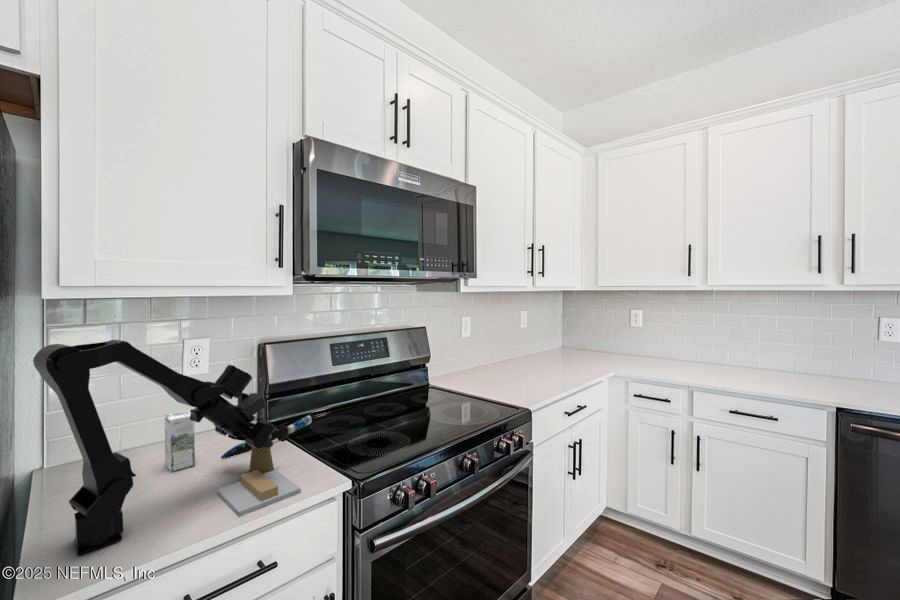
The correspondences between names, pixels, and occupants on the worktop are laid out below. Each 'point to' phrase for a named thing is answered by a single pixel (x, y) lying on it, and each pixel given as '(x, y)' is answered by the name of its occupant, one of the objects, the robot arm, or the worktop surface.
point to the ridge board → (250, 501)
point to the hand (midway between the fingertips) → (265, 443)
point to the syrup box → (179, 441)
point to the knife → (272, 436)
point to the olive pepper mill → (261, 460)
